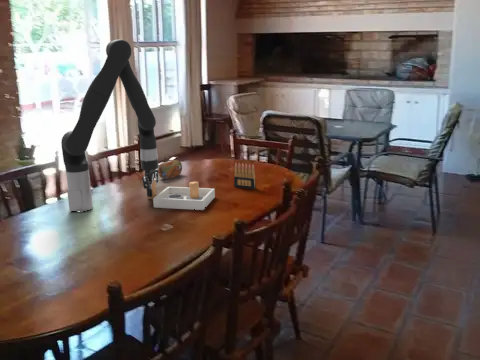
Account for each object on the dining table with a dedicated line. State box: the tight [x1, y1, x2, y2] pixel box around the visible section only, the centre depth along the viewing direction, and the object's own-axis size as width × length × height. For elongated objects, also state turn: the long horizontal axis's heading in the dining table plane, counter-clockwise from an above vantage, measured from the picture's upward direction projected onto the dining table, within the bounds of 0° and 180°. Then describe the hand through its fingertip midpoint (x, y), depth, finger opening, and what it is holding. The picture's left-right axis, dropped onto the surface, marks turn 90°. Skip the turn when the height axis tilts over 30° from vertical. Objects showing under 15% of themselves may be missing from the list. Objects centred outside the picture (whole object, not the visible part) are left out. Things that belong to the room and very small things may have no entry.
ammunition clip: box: [233, 162, 257, 190], centre depth 255 cm, size 11×2×12 cm, turn 64°
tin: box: [158, 159, 183, 180], centre depth 277 cm, size 15×3×8 cm, turn 143°
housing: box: [152, 181, 216, 211], centre depth 236 cm, size 18×22×9 cm
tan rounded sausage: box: [147, 180, 157, 200], centre depth 244 cm, size 4×4×8 cm
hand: (151, 194), depth 245 cm, fingers open, 4 cm apart
